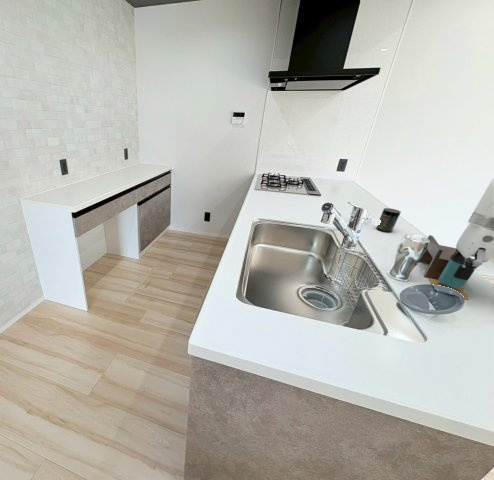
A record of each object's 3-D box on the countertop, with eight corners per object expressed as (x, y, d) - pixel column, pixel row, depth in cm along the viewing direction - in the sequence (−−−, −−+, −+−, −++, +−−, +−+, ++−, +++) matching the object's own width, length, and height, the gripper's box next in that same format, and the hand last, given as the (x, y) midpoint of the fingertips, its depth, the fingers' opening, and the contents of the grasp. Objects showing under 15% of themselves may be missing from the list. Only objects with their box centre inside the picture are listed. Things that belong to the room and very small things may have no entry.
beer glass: (410, 284, 87) (430, 245, 80) (384, 276, 91) (402, 238, 84) (411, 276, 91) (431, 238, 85) (387, 268, 95) (404, 231, 89)
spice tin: (460, 281, 85) (475, 258, 81) (466, 291, 80) (482, 266, 76) (435, 275, 88) (448, 252, 84) (440, 284, 83) (454, 260, 79)
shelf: (450, 267, 97) (465, 241, 93) (462, 286, 87) (480, 258, 82) (416, 260, 102) (429, 235, 97) (424, 276, 91) (439, 249, 86)
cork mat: (459, 286, 86) (460, 285, 86) (468, 299, 80) (469, 298, 80) (428, 279, 90) (429, 277, 90) (434, 291, 84) (435, 289, 84)
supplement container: (390, 234, 125) (399, 213, 120) (374, 229, 129) (382, 209, 124) (393, 230, 129) (402, 210, 124) (377, 226, 133) (385, 207, 129)
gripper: (523, 234, 66) (484, 291, 74) (494, 215, 79) (463, 265, 87) (482, 227, 69) (449, 282, 77) (461, 210, 83) (434, 258, 91)
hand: (456, 272), depth 82 cm, fingers closed on spice tin, 6 cm apart
